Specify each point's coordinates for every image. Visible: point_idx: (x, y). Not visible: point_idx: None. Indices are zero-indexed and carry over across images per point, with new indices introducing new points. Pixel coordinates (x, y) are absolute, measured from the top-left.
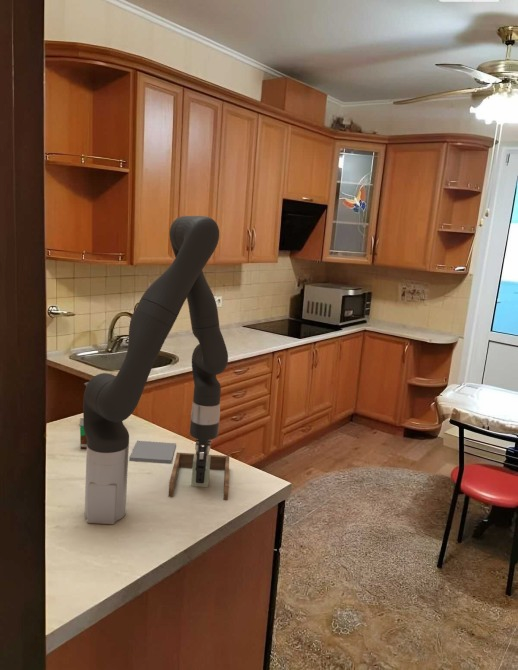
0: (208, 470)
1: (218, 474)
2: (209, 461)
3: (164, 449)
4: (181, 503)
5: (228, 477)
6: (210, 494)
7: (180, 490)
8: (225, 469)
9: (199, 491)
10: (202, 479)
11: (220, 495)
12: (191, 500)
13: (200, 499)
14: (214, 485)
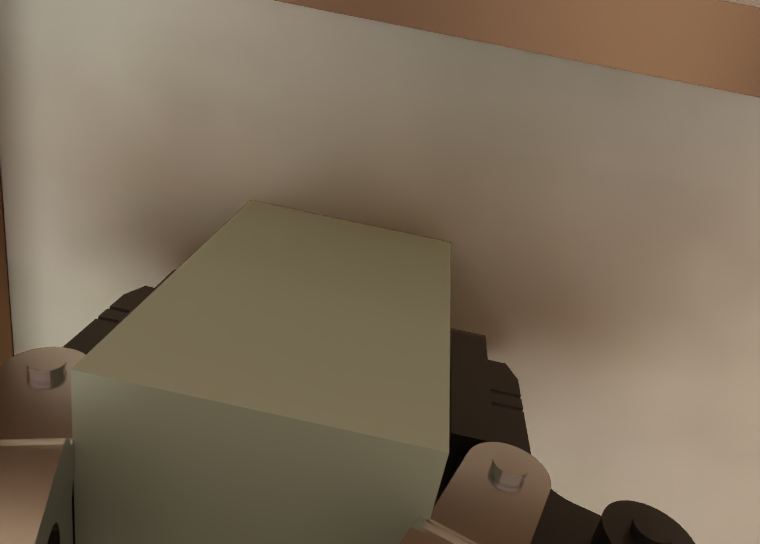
0: (444, 365)
1: (119, 52)
2: (387, 451)
3: None
4: (751, 538)
5: (685, 2)
6: (639, 243)
7: None
8: (324, 7)
9: (544, 349)
10: (519, 394)
11: (695, 122)
12: (720, 451)
13: (726, 367)
14: (420, 157)
